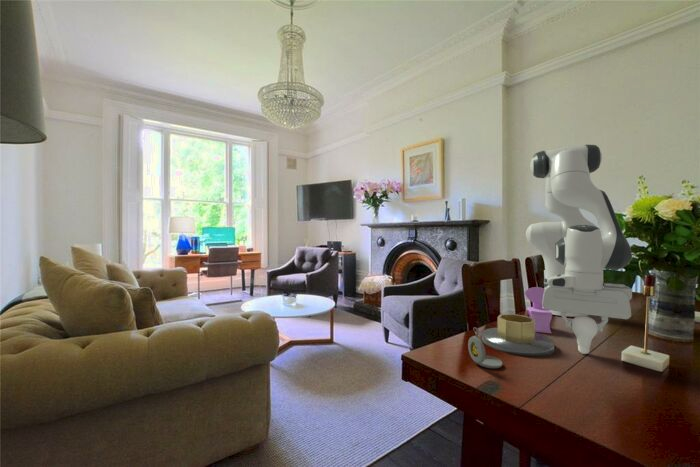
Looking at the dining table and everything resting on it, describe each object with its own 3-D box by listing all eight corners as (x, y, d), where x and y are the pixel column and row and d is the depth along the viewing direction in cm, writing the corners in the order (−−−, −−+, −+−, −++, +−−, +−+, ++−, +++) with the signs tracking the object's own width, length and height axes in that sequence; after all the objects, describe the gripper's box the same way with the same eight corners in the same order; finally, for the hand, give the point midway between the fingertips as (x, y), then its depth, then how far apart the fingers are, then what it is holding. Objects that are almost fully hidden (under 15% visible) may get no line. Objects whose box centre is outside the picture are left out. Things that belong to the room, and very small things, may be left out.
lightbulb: (602, 359, 85) (603, 319, 84) (577, 357, 86) (578, 318, 86) (589, 350, 91) (590, 313, 90) (566, 348, 92) (567, 312, 92)
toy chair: (528, 332, 108) (528, 289, 108) (523, 325, 116) (523, 285, 116) (555, 335, 105) (555, 291, 105) (549, 327, 113) (549, 287, 113)
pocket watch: (506, 364, 81) (506, 326, 81) (494, 374, 75) (494, 334, 75) (475, 355, 87) (475, 320, 87) (462, 364, 81) (462, 326, 81)
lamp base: (488, 329, 110) (488, 307, 110) (555, 340, 99) (555, 316, 99) (475, 346, 94) (475, 320, 94) (553, 362, 82) (553, 332, 82)
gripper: (630, 283, 85) (630, 333, 85) (543, 277, 97) (543, 320, 97) (634, 286, 80) (634, 339, 80) (541, 279, 91) (541, 325, 91)
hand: (583, 329), depth 88 cm, fingers closed on lightbulb, 6 cm apart
